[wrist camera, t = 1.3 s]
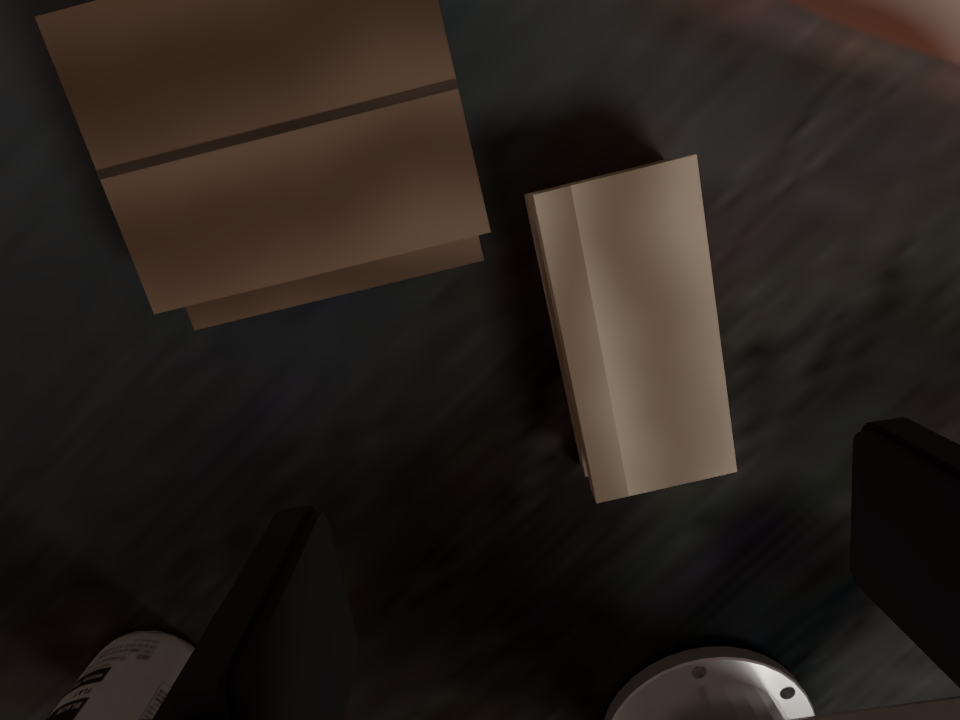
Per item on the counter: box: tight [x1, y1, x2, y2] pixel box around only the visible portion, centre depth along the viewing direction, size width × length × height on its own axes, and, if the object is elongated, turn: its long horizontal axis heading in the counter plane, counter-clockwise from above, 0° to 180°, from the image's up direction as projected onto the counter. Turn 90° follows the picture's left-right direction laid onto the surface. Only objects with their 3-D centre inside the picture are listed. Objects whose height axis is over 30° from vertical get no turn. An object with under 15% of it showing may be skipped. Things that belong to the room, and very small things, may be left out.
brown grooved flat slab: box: [35, 0, 491, 330], centre depth 24 cm, size 12×14×4 cm
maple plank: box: [524, 154, 737, 503], centre depth 27 cm, size 6×14×4 cm, turn 13°
